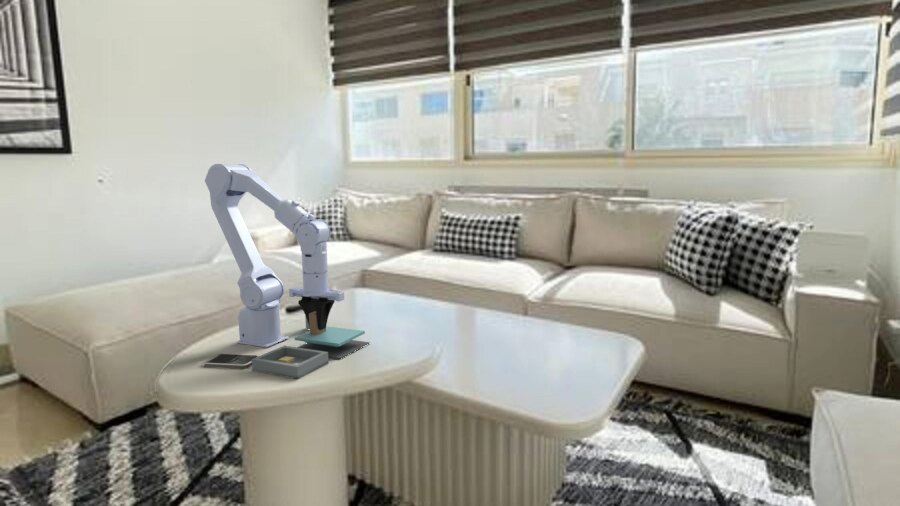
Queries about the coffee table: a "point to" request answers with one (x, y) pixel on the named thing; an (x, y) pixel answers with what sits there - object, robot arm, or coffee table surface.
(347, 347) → the mat
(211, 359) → the cell phone
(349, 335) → the lid
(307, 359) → the tub
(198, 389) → the coffee table surface
